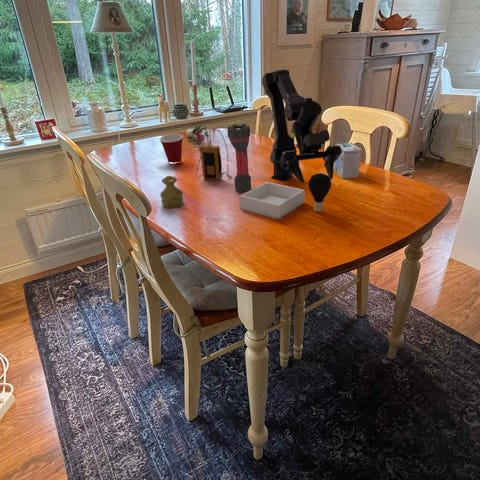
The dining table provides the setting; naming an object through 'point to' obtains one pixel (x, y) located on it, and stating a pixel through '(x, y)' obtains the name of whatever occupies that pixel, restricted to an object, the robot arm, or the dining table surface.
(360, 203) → the dining table surface
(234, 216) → the dining table surface
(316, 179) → the light bulb
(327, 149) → the robot arm
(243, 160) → the flashlight
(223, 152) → the dining table surface
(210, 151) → the multimeter
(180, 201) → the brown money bag
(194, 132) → the flower vase
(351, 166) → the light bulb box
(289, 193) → the parts tray
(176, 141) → the plastic cup
